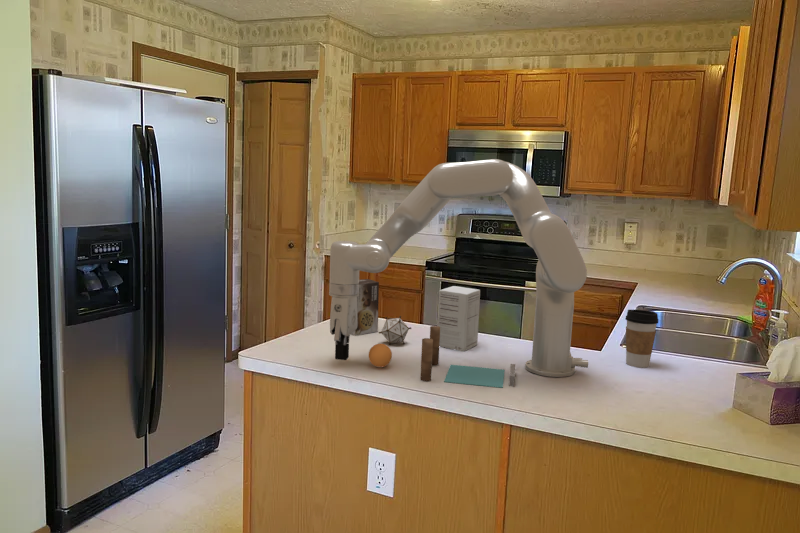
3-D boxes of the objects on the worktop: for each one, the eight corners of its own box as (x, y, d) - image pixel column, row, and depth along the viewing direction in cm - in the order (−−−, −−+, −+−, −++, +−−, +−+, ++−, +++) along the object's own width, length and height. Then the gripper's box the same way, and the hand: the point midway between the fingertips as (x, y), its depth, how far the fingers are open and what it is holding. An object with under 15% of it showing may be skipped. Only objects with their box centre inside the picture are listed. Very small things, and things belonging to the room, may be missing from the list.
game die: (399, 357, 179) (410, 335, 173) (372, 346, 179) (383, 324, 172) (406, 336, 186) (417, 314, 180) (380, 325, 186) (390, 303, 179)
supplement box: (450, 339, 187) (453, 285, 184) (478, 344, 182) (481, 289, 179) (435, 346, 178) (438, 289, 176) (464, 351, 174) (467, 293, 171)
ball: (393, 364, 159) (394, 342, 159) (388, 371, 154) (389, 348, 153) (371, 362, 161) (372, 340, 160) (365, 369, 155) (366, 346, 154)
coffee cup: (614, 361, 169) (619, 308, 167) (636, 358, 173) (641, 306, 171) (638, 370, 162) (644, 315, 160) (660, 367, 166) (666, 313, 164)
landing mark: (504, 370, 158) (504, 369, 158) (502, 388, 144) (502, 387, 144) (450, 365, 161) (450, 364, 161) (443, 382, 147) (443, 381, 147)
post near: (431, 378, 149) (433, 338, 148) (430, 381, 147) (432, 341, 145) (421, 377, 150) (423, 337, 148) (419, 380, 147) (421, 340, 146)
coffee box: (366, 327, 197) (367, 278, 195) (378, 332, 192) (380, 281, 190) (342, 331, 191) (344, 280, 189) (354, 336, 187) (356, 284, 184)
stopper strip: (514, 373, 155) (515, 364, 155) (514, 386, 146) (514, 376, 145) (509, 373, 156) (510, 363, 155) (508, 385, 146) (509, 375, 146)
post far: (439, 363, 162) (440, 326, 161) (437, 366, 160) (439, 328, 158) (429, 362, 163) (431, 325, 161) (427, 365, 160) (429, 327, 159)
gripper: (350, 295, 148) (347, 368, 151) (365, 285, 163) (363, 352, 165) (320, 293, 150) (318, 365, 152) (338, 283, 164) (336, 349, 167)
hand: (341, 358), depth 159 cm, fingers closed
